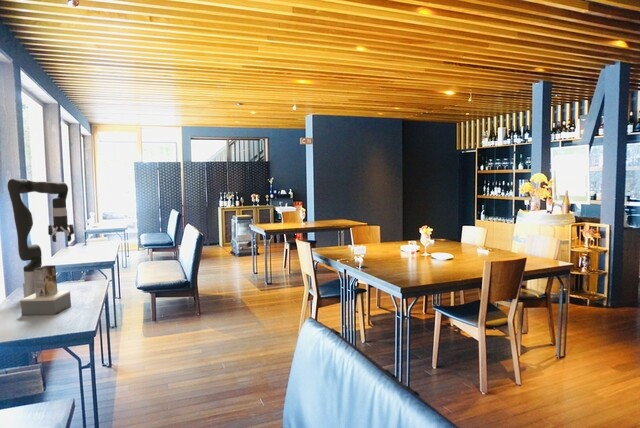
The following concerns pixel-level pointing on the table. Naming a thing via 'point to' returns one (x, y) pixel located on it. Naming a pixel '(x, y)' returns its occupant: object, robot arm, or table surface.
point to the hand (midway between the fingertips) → (61, 241)
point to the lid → (48, 298)
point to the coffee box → (45, 281)
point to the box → (46, 306)
